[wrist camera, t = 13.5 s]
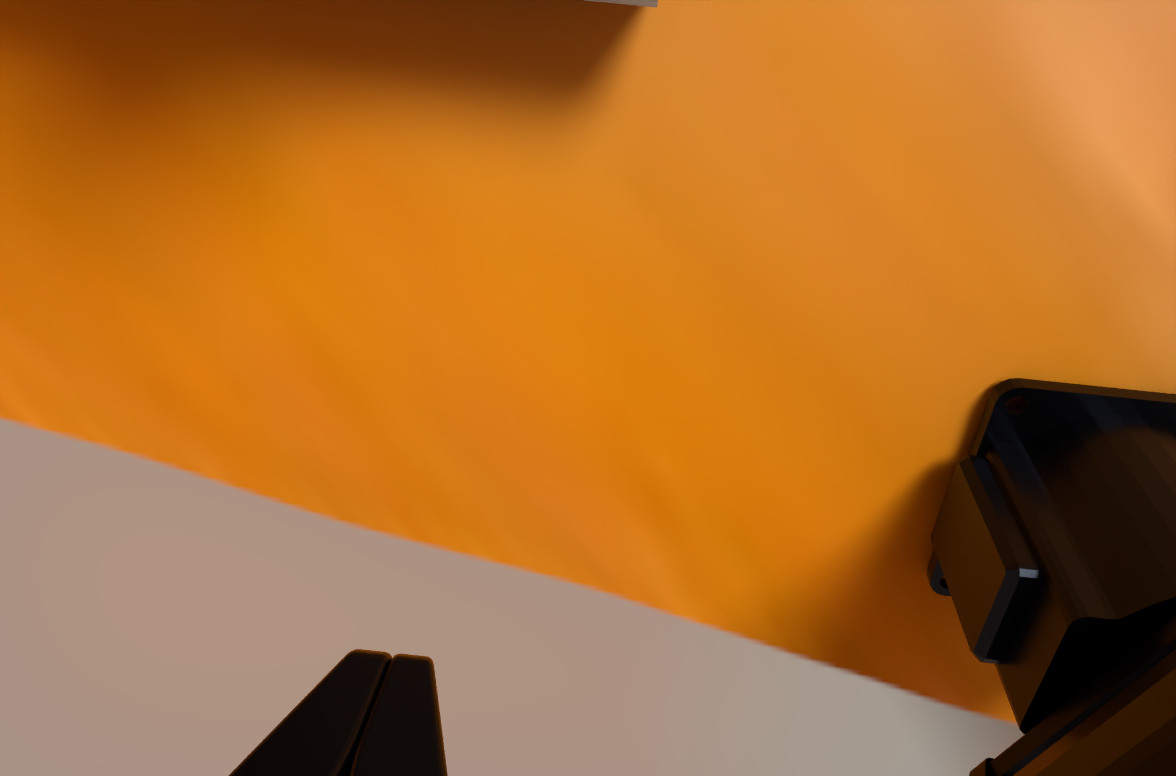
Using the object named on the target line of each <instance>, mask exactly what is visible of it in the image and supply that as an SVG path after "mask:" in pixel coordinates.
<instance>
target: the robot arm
mask: <svg viewBox="0 0 1176 776" xmlns="http://www.w3.org/2000/svg"><path fill="white" fill-rule="evenodd" d="M1018 396H1021V397H1023V398H1022V399H1021V401H1020V402H1019V403H1017V404H1015V405H1010V406H1007V405H1006V403H1007V402H1008V401H1009V400H1010V399H1012V398H1013V397H1018ZM931 541H932V543H933V546H934V552H933V554H932V557H931V560H930V563H929V565H928V568H927V577H928V580H929V583H930V586H931V588H932V590H933V591H935V592H936V593H937V594H940V595H944V596H951V597H952V599H953V602H954V605H955V608H956V611H957V613H958V616H959V619H960V622H961V625H962V628H963V630H964V633H965V636H966V639H967V642H968V644H969V647H970V650H971V652H972V653H973V654H974V655H975V657H976V658H977V659H978V660H979V662H986V663H995V665H996V668H997V671H998V673H999V676H1000V678H1001V681H1002V684H1003V686H1004V689H1005V692H1006V694H1007V697H1008V700H1009V702H1010V705H1011V707H1012V710H1013V713H1014V715H1015V718H1016V721H1017V723H1018V726H1019V729H1020V730H1021V731H1022V733H1023V734H1025V735H1024V736H1022V737H1021V738H1020V739H1019V740H1017V741H1016V742H1015V743H1014V744H1012V745H1011V746H1010V747H1009V748H1007V749H1006V750H1005V751H1004V752H1002V753H1001V754H1000V755H999V756H997V757H996V758H995V759H993V758H987V759H985V760H984V761H983V762H982V763H980V764H979V765H978V766H977V767H975V768H974V769H973V770H972V771H970V774H969V776H1176V394H1167V393H1157V392H1147V391H1138V390H1128V389H1118V388H1108V387H1099V386H1089V385H1079V384H1069V383H1060V382H1050V381H1040V380H1031V379H1021V378H1014V379H1008V380H1005V381H1003V382H1001V383H999V384H998V385H997V386H995V387H994V389H993V390H992V392H991V394H990V396H989V399H988V402H987V404H986V407H985V410H984V413H983V415H982V418H981V421H980V424H979V427H978V429H977V432H976V435H975V438H974V440H973V443H972V446H971V449H970V452H969V454H968V455H966V456H964V457H963V458H962V459H961V460H960V461H959V462H957V464H956V467H955V470H954V472H953V475H952V478H951V481H950V484H949V487H948V489H947V492H946V495H945V498H944V501H943V504H942V506H941V509H940V512H939V515H938V518H937V520H936V523H935V526H934V529H933V532H932V535H931ZM942 577H945V578H942ZM229 776H447V768H446V759H445V751H444V743H443V735H442V727H441V719H440V712H439V703H438V695H437V687H436V679H435V671H434V664H433V661H432V659H431V658H429V657H426V656H417V655H408V654H397V655H395V656H394V657H393V658H392V656H391V655H390V654H389V653H386V652H380V651H370V650H362V649H356V650H353V651H351V652H349V653H348V654H347V655H346V656H345V657H344V658H343V659H342V660H341V661H340V662H339V663H338V664H337V665H336V666H335V667H334V668H333V669H332V670H331V671H330V672H329V673H328V674H327V675H326V676H325V677H324V678H323V679H322V680H321V682H319V684H318V685H317V686H316V687H315V688H314V689H313V690H312V691H311V692H310V693H309V694H308V695H307V696H306V697H305V698H304V699H303V700H302V701H301V702H300V703H299V704H298V705H297V706H296V707H295V708H294V709H293V710H292V711H291V712H290V713H289V714H288V715H287V717H285V718H284V719H283V720H282V721H281V722H280V724H278V726H277V727H276V728H275V729H274V730H273V731H272V732H271V733H270V734H269V735H268V736H267V737H266V738H265V739H264V740H263V741H262V742H261V743H260V744H259V745H258V746H257V747H256V748H255V749H254V750H253V751H252V752H251V753H250V754H249V755H248V756H247V757H246V758H245V759H244V760H243V761H242V762H241V764H240V765H238V767H237V768H236V769H235V770H234V771H233V772H232V773H231V774H230V775H229Z"/></svg>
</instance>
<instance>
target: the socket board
mask: <svg viewBox="0 0 1176 776" xmlns="http://www.w3.org/2000/svg"><path fill="white" fill-rule="evenodd" d="M585 1H596V2H606V3H616V4H627V5H637V6H648V7H657V3H658V0H585Z"/></svg>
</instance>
